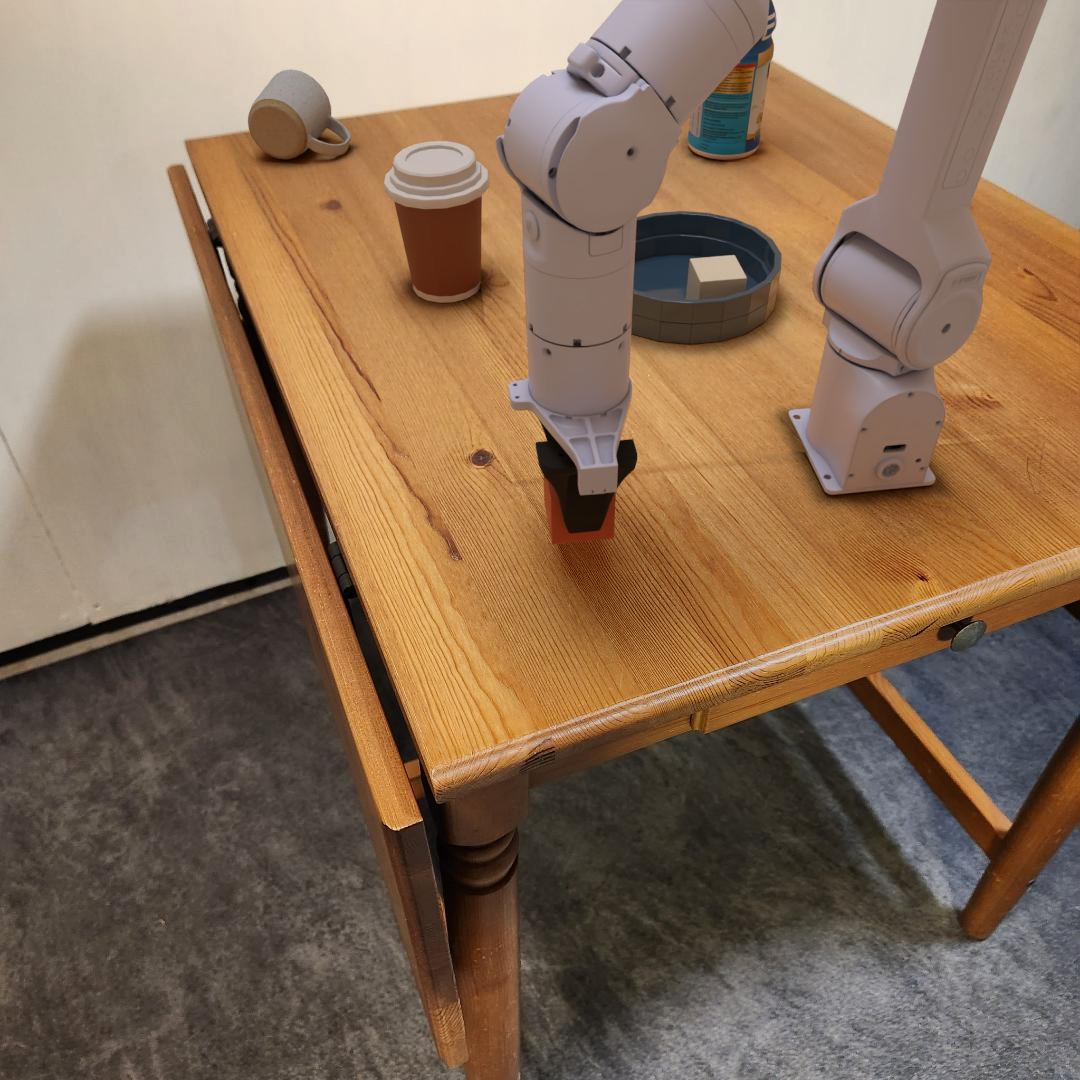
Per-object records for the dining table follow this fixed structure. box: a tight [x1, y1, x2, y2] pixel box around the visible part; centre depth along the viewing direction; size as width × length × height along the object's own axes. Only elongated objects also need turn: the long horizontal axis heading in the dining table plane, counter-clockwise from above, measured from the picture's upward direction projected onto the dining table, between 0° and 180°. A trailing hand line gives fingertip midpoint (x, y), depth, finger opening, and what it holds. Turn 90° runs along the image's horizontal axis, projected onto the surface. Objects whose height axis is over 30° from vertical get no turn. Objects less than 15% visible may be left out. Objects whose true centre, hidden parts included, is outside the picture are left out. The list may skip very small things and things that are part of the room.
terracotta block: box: [543, 476, 617, 545], centre depth 60 cm, size 4×4×4 cm
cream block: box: [686, 255, 747, 300], centre depth 81 cm, size 4×4×4 cm
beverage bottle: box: [687, 0, 777, 161], centre depth 102 cm, size 8×8×20 cm
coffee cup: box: [383, 140, 490, 304], centre depth 84 cm, size 9×9×12 cm
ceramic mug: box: [247, 69, 352, 160], centre depth 108 cm, size 11×8×8 cm
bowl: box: [631, 210, 783, 345], centre depth 84 cm, size 16×16×4 cm
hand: (578, 503), depth 60 cm, fingers closed on terracotta block, 4 cm apart
